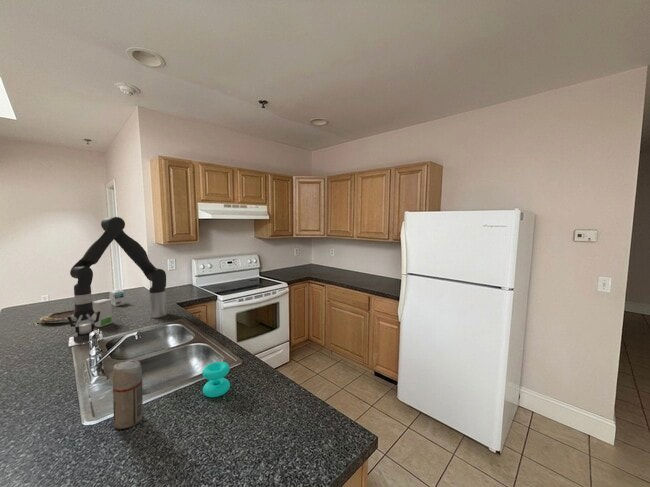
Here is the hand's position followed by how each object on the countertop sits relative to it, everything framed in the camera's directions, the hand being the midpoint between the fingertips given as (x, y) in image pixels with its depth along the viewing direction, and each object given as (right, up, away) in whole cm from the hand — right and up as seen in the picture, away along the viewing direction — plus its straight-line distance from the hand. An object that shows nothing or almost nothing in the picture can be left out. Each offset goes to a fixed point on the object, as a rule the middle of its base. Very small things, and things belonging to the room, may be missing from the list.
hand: (85, 331), depth 151 cm
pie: (-39, -2, +29) cm, 49 cm away
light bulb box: (-30, +1, +62) cm, 69 cm away
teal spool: (+91, -9, -44) cm, 102 cm away
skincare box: (-8, -3, +21) cm, 23 cm away
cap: (0, -1, 0) cm, 1 cm away
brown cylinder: (+68, -11, -60) cm, 92 cm away
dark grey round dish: (0, -4, 0) cm, 4 cm away
